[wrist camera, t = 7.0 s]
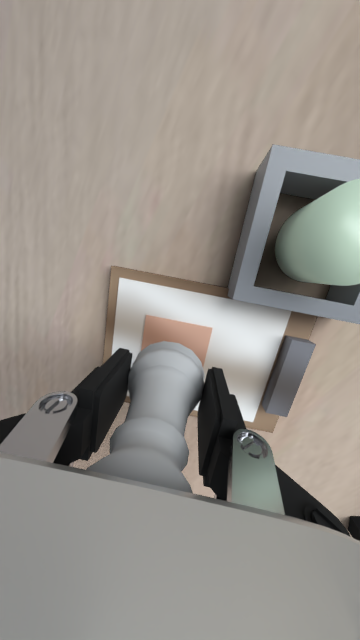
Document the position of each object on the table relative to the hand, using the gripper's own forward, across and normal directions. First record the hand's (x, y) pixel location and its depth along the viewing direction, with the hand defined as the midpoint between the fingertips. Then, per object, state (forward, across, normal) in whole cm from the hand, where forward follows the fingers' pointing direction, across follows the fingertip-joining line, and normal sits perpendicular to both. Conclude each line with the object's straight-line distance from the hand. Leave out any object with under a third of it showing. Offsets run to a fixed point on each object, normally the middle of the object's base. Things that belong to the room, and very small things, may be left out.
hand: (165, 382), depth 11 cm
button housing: (+5, -7, -9) cm, 12 cm away
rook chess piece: (+2, 0, 0) cm, 2 cm away
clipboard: (+5, -2, 0) cm, 5 cm away
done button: (+3, -7, -9) cm, 12 cm away
